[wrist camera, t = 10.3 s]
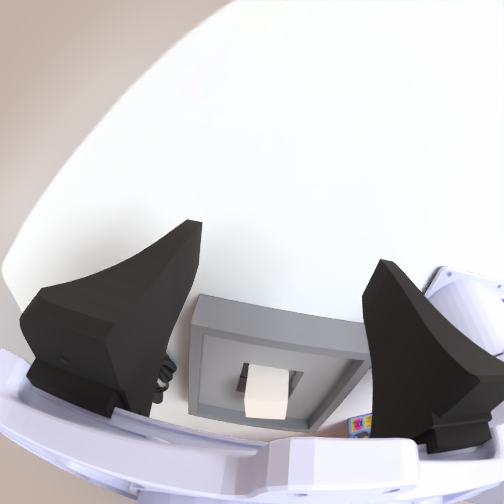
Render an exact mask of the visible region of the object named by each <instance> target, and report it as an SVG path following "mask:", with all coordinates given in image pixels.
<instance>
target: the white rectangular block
mask: <svg viewBox="0 0 504 504" xmlns="http://www.w3.org/2000/svg"><path fill="white" fill-rule="evenodd" d="M288 385H289V370H286V369H279V368H273V367H267V366H261V365H255V364H249V369H248V376H247V383H246V390H245V397H244V403H245V413H246V417H251V418H264V419H283V420H285V417H286V410H287V404H288Z"/></svg>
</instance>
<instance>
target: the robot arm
mask: <svg viewBox="0 0 504 504" xmlns="http://www.w3.org/2000/svg"><path fill="white" fill-rule="evenodd" d="M201 232H202V222H198V221H193V220H186V221H184V222H183V223H181V224H180V225H179V226H177V227H176V228H175V229H173V230H172V231H171V232H169V233H168V234H166V235H165V236H164V237H162V238H161V239H159V240H158V241H157V242H155V243H154V244H152V245H151V246H149V247H147V248H146V249H144V250H143V251H141V252H140V253H138V254H136V255H134V256H133V257H131V258H129V259H127V260H125V261H123V262H121V263H119V264H117V265H115V266H112V267H110V268H107V269H105V270H103V271H100V272H98V273H95V274H93V275H90V276H87V277H84V278H81V279H77V280H74V281H71V282H67V283H63V284H58V285H54V286H49V287H44V288H41V290H40V291H39V292H38V293H37V295H36V296H35V297H34V299H33V300H32V301H31V303H30V304H29V305H28V307H27V308H26V309H25V311H24V312H23V313H22V315H21V317H20V328H21V330H22V333H23V335H24V337H25V339H26V341H27V343H28V344H29V346H30V348H31V350H32V352H33V353H34V355H35V357H36V359H35V360H34V362H33V364H32V365H31V364H30V363H29V362H27V360H25V359H24V358H22V357H20V356H18V355H16V354H14V353H12V352H10V351H9V350H7V349H5V348H0V432H1V433H2V434H3V435H4V436H6V437H7V438H9V439H11V440H12V441H14V442H15V443H17V444H19V445H20V446H22V447H23V448H25V449H27V450H29V451H30V452H32V453H34V454H35V455H37V456H39V457H41V458H42V459H44V460H46V461H48V462H50V463H52V464H53V465H56V466H58V467H59V468H61V469H63V470H65V471H67V472H69V473H71V474H73V475H75V476H77V477H80V478H82V479H84V480H86V481H88V482H91V483H93V484H95V485H97V486H100V487H102V488H105V489H107V490H110V491H112V492H115V493H117V494H120V495H123V496H125V497H128V498H131V499H134V500H137V504H452V503H456V502H459V501H462V500H463V501H468V502H472V503H476V504H504V281H502V280H498V279H494V278H490V277H486V276H482V275H479V274H475V273H471V272H467V271H463V270H459V269H455V268H451V267H447V266H444V267H441V268H440V269H439V271H438V273H437V274H436V276H435V278H434V279H433V281H432V283H431V284H430V286H429V288H428V289H427V291H426V293H425V294H424V295H423V294H422V292H421V291H420V290H419V289H418V288H417V287H416V286H415V284H414V283H413V282H412V281H411V280H410V279H409V278H408V276H407V275H406V274H405V273H404V272H403V271H402V270H401V269H400V268H399V267H398V266H397V265H396V264H395V263H394V262H392V261H387V260H383V259H380V261H379V263H378V265H377V267H376V269H375V271H374V273H373V275H372V277H371V279H370V281H369V283H368V285H367V287H366V289H365V291H364V293H363V295H362V307H363V319H364V325H365V330H366V335H367V341H368V346H369V352H370V358H371V365H372V379H373V405H372V421H371V432H370V438H327V437H288V438H283V439H277V440H273V441H271V442H264V441H257V440H249V439H243V438H237V437H231V436H225V435H220V434H214V433H209V432H204V431H200V430H195V429H191V428H186V427H182V426H178V425H174V424H170V423H166V422H163V421H159V420H155V419H152V418H149V415H150V410H151V406H152V401H153V397H154V393H155V389H156V385H157V381H158V377H159V373H160V369H161V366H162V362H163V358H164V355H165V352H166V348H167V345H168V342H169V338H170V335H171V333H172V330H173V328H174V325H175V323H176V321H177V319H178V316H179V314H180V312H181V310H182V307H183V305H184V303H185V301H186V298H187V296H188V294H189V292H190V289H191V287H192V285H193V281H194V278H195V275H196V272H197V268H198V265H199V255H200V243H201ZM447 273H448V274H447Z"/></svg>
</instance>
